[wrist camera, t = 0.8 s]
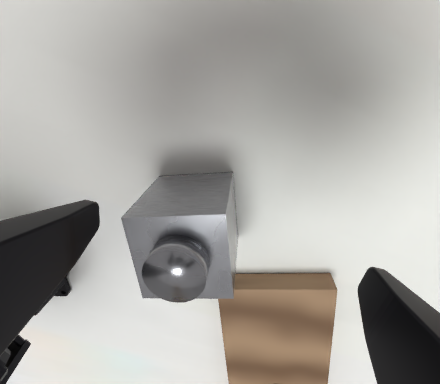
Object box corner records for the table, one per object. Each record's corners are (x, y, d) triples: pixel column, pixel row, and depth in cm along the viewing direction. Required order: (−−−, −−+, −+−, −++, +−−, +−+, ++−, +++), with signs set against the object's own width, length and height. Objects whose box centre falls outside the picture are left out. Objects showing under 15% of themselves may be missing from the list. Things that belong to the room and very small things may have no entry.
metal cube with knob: (171, 238, 24) (133, 317, 16) (159, 176, 21) (108, 232, 14) (237, 237, 23) (232, 318, 15) (232, 172, 21) (223, 229, 13)
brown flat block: (317, 417, 32) (329, 473, 27) (235, 412, 33) (233, 465, 29) (330, 273, 23) (350, 320, 19) (219, 273, 25) (212, 318, 20)
